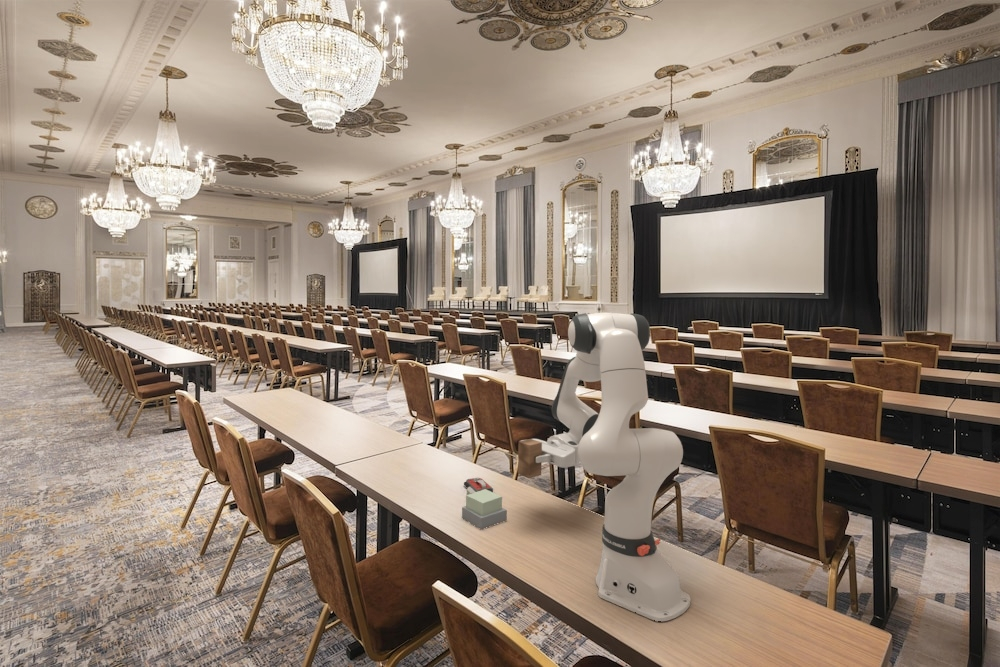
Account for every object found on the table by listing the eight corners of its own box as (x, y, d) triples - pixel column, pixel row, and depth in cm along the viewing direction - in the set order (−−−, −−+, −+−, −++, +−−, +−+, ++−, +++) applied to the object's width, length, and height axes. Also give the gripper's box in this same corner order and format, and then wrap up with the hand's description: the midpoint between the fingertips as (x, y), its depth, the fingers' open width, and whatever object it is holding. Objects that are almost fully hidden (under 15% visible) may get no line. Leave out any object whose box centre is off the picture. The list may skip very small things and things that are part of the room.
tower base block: (506, 522, 162) (506, 509, 162) (481, 531, 156) (481, 518, 156) (486, 511, 170) (487, 499, 170) (462, 519, 164) (462, 507, 163)
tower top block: (501, 508, 163) (502, 496, 162) (482, 516, 157) (482, 503, 157) (485, 501, 169) (485, 489, 168) (465, 507, 163) (466, 495, 163)
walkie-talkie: (458, 487, 190) (478, 508, 172) (458, 475, 190) (479, 495, 172) (480, 484, 194) (502, 504, 176) (480, 472, 194) (503, 491, 175)
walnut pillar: (541, 474, 157) (541, 442, 157) (529, 478, 154) (529, 445, 153) (529, 470, 161) (530, 438, 160) (517, 473, 158) (518, 441, 157)
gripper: (536, 432, 173) (505, 439, 164) (583, 446, 158) (551, 455, 149) (536, 450, 174) (505, 458, 165) (583, 466, 158) (551, 476, 149)
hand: (527, 457), depth 157 cm, fingers closed on walnut pillar, 5 cm apart
